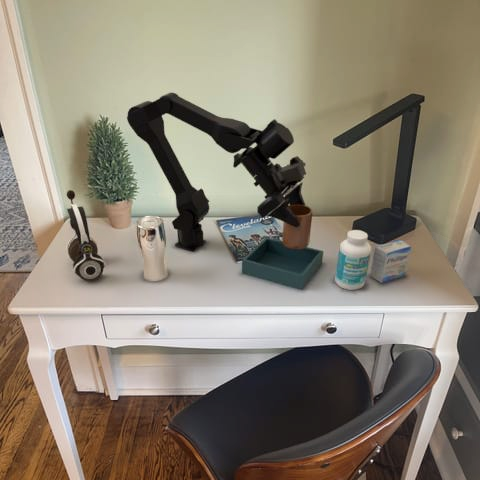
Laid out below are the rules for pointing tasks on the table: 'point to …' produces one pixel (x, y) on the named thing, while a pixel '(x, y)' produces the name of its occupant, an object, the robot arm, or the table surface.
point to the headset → (83, 245)
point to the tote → (282, 263)
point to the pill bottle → (353, 260)
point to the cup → (298, 228)
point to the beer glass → (152, 246)
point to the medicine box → (390, 261)
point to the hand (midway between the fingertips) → (302, 220)
